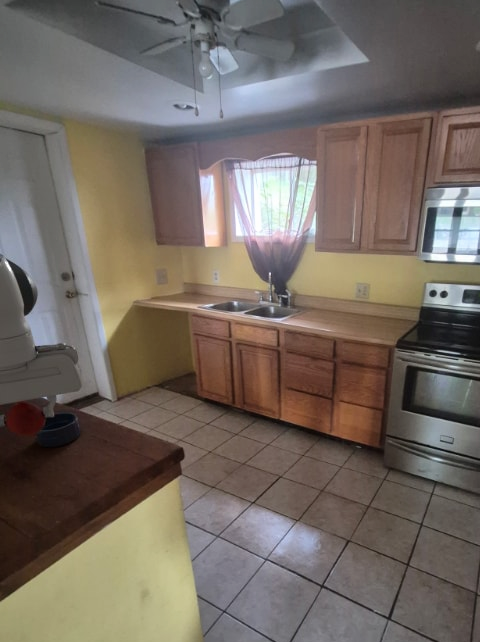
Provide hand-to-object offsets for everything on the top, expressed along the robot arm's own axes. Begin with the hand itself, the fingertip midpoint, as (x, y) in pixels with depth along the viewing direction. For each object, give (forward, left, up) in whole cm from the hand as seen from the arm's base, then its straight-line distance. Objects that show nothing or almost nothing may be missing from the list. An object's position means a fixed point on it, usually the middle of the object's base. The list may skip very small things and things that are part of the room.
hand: (26, 421), depth 68 cm
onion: (0, 0, -4) cm, 4 cm away
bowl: (-11, +23, -18) cm, 31 cm away
